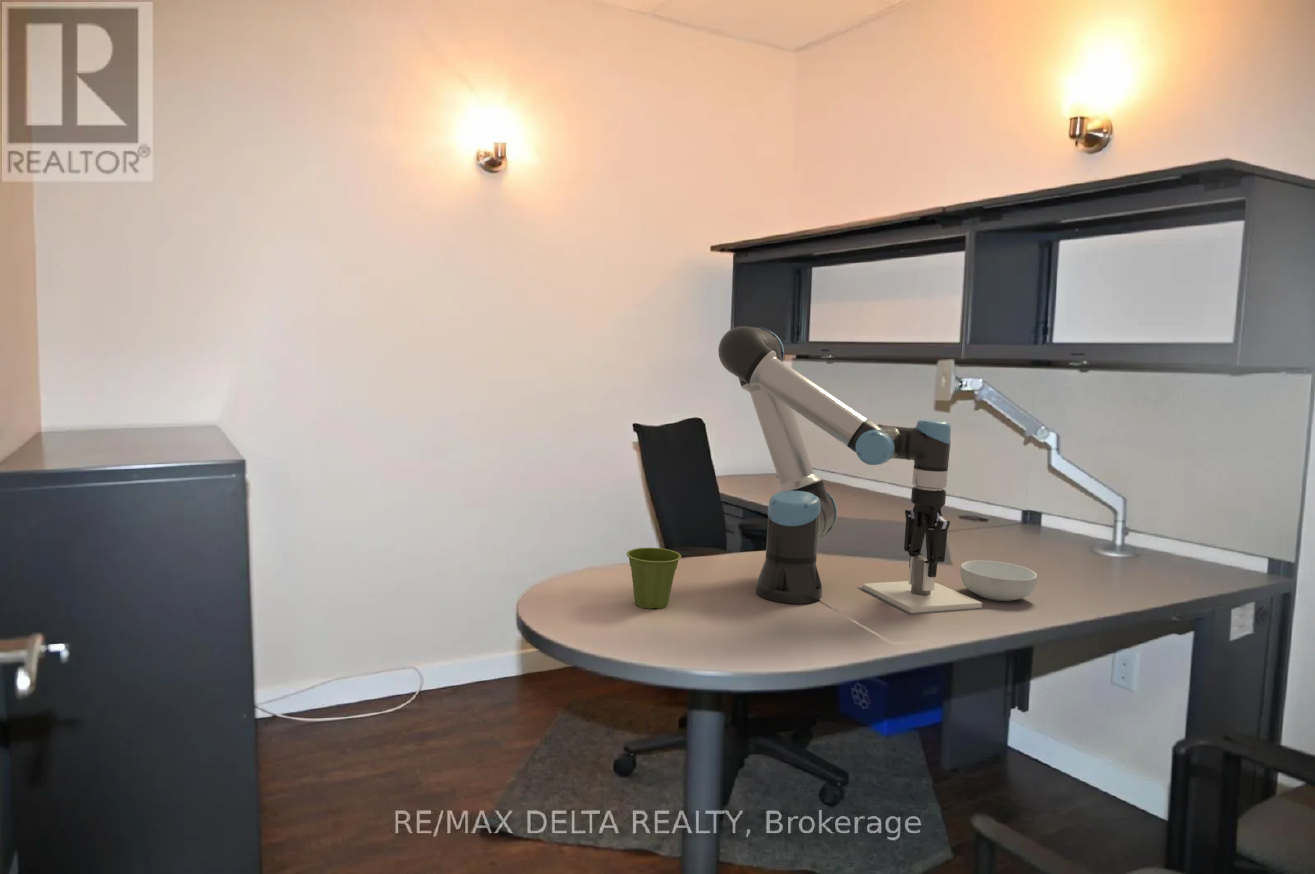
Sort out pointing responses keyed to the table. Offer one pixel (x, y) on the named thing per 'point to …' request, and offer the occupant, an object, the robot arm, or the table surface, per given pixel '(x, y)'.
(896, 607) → the mat
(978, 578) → the cereal bowl
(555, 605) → the table surface
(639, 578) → the plant pot
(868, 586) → the lid
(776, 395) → the robot arm
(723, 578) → the table surface
